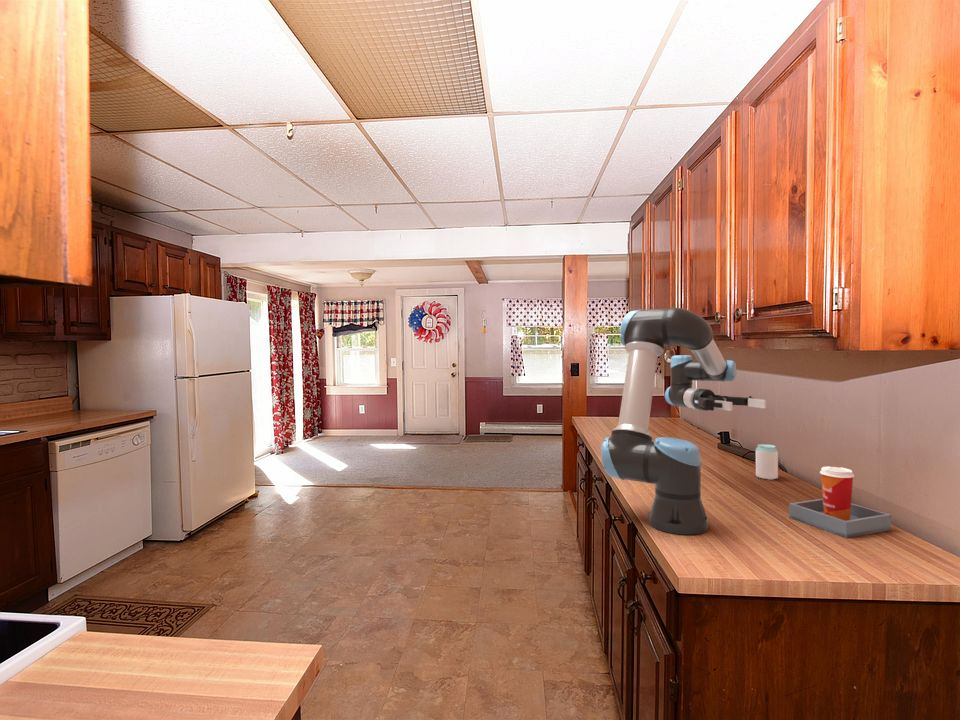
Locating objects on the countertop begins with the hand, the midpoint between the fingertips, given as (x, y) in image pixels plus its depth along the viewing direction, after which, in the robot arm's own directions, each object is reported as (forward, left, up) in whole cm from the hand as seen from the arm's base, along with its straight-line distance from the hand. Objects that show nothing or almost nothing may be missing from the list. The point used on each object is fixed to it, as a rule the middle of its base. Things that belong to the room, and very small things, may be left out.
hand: (748, 405), depth 155 cm
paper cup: (+5, -24, -29) cm, 39 cm away
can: (+26, +17, -30) cm, 43 cm away
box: (+5, -25, -30) cm, 39 cm away
